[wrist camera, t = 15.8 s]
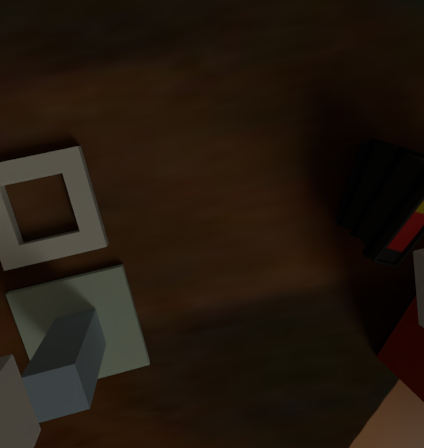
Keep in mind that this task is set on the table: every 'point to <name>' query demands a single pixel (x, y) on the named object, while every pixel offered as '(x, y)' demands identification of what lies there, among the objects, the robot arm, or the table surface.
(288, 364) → the table surface
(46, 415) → the slate block
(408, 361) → the file binder
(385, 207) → the black slab
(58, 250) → the pocket collar
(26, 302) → the pad
